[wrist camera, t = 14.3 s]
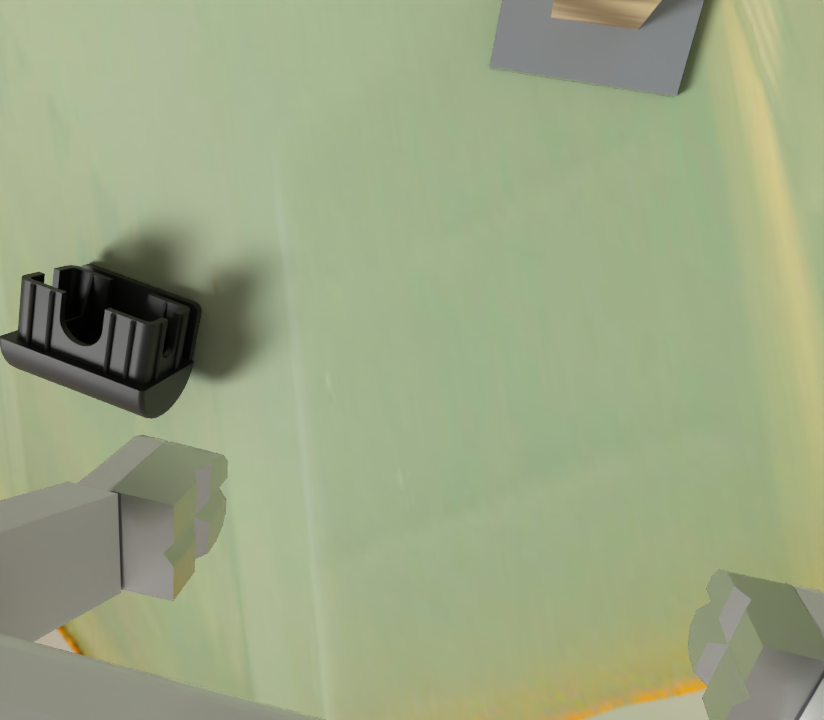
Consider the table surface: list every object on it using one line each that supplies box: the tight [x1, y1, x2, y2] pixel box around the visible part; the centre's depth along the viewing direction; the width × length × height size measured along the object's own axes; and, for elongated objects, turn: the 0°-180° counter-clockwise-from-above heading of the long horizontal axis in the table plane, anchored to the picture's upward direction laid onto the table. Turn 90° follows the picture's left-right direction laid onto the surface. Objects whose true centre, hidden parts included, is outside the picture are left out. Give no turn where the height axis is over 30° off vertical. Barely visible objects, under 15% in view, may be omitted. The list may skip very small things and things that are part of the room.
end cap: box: [0, 264, 201, 418], centre depth 40 cm, size 10×7×7 cm
